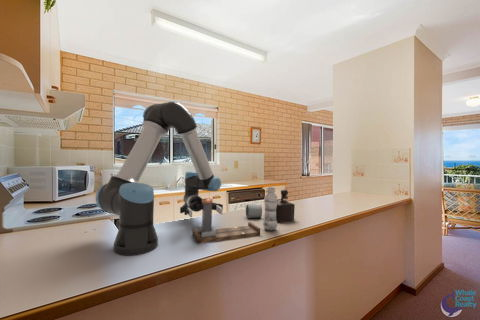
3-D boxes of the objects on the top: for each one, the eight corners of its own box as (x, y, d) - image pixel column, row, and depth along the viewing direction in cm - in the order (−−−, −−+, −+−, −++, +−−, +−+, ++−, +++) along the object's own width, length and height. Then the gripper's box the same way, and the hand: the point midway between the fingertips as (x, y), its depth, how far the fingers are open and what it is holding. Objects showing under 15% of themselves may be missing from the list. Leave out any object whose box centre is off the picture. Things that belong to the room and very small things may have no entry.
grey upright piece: (201, 237, 92) (202, 201, 92) (197, 232, 99) (198, 198, 98) (216, 235, 95) (216, 200, 94) (211, 230, 101) (211, 197, 101)
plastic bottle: (272, 227, 113) (273, 186, 113) (279, 231, 107) (280, 188, 107) (260, 228, 111) (261, 187, 111) (267, 232, 105) (268, 189, 104)
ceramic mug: (262, 219, 127) (262, 205, 127) (248, 219, 125) (248, 205, 125) (257, 214, 137) (257, 201, 137) (244, 215, 136) (244, 202, 136)
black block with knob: (267, 217, 130) (268, 186, 130) (284, 216, 134) (284, 185, 134) (282, 225, 116) (283, 190, 115) (300, 223, 120) (301, 189, 119)
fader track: (197, 243, 90) (197, 236, 90) (192, 235, 99) (192, 228, 99) (260, 235, 101) (260, 228, 101) (250, 228, 110) (250, 222, 110)
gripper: (218, 208, 124) (233, 218, 105) (170, 212, 114) (177, 224, 95) (218, 194, 124) (233, 202, 105) (170, 197, 114) (177, 206, 94)
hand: (206, 212), depth 100 cm, fingers open, 13 cm apart
